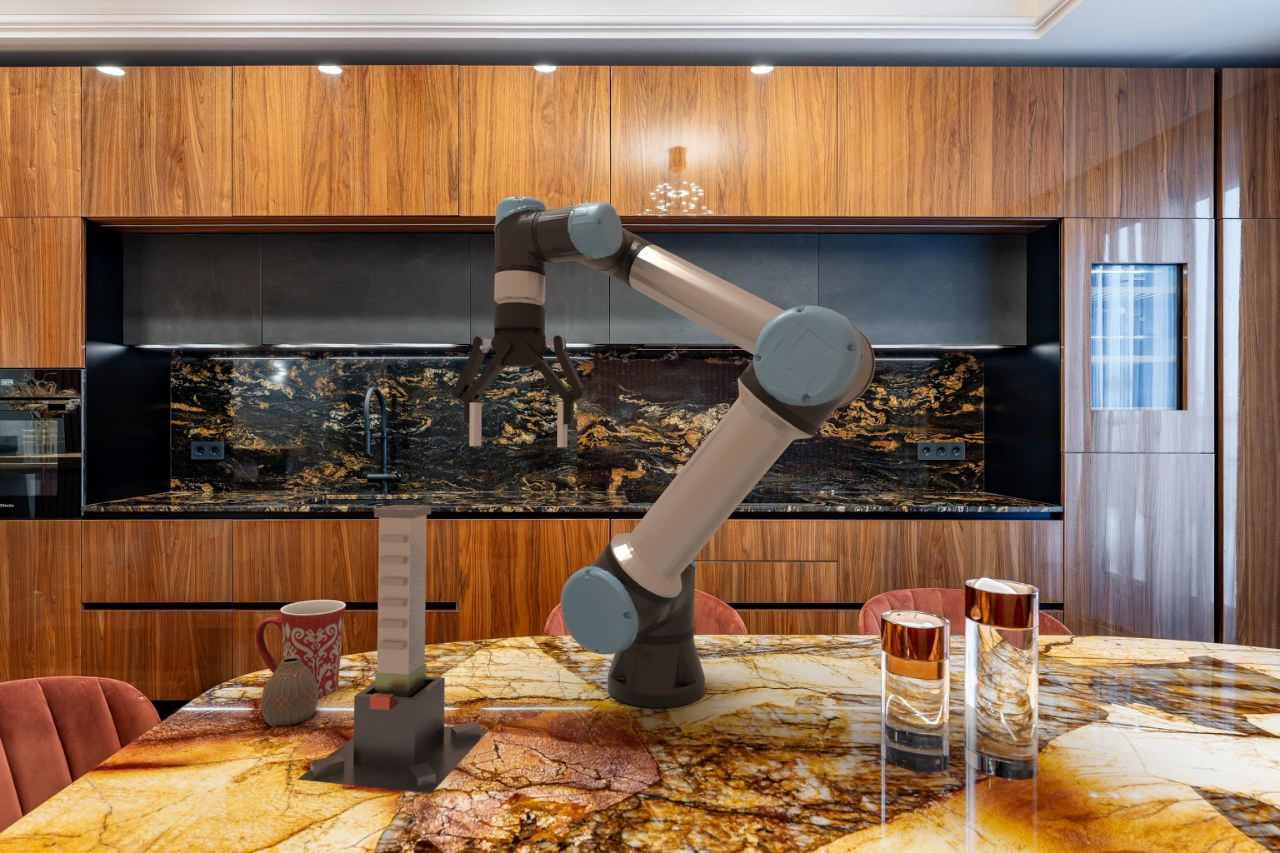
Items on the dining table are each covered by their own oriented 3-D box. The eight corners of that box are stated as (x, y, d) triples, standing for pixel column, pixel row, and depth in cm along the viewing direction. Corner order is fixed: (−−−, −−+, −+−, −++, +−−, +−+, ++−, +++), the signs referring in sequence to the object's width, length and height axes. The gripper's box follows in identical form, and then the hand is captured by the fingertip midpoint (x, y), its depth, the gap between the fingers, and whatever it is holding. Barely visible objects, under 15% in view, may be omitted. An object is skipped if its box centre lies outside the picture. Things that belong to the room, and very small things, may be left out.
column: (428, 683, 86) (431, 505, 86) (408, 698, 81) (411, 510, 81) (393, 680, 86) (395, 504, 87) (371, 695, 81) (373, 509, 82)
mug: (354, 685, 108) (355, 599, 108) (329, 708, 99) (330, 614, 99) (273, 685, 108) (274, 598, 108) (240, 708, 99) (241, 613, 99)
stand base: (488, 737, 90) (489, 664, 90) (431, 802, 74) (432, 713, 74) (375, 727, 93) (376, 657, 93) (297, 788, 77) (298, 702, 77)
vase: (248, 730, 92) (249, 664, 92) (291, 710, 98) (292, 649, 98) (288, 738, 89) (289, 670, 89) (329, 718, 96) (330, 654, 96)
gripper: (606, 307, 105) (605, 447, 105) (452, 311, 109) (451, 445, 109) (595, 298, 98) (593, 448, 98) (430, 302, 102) (428, 445, 102)
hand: (518, 446), depth 103 cm, fingers open, 13 cm apart
